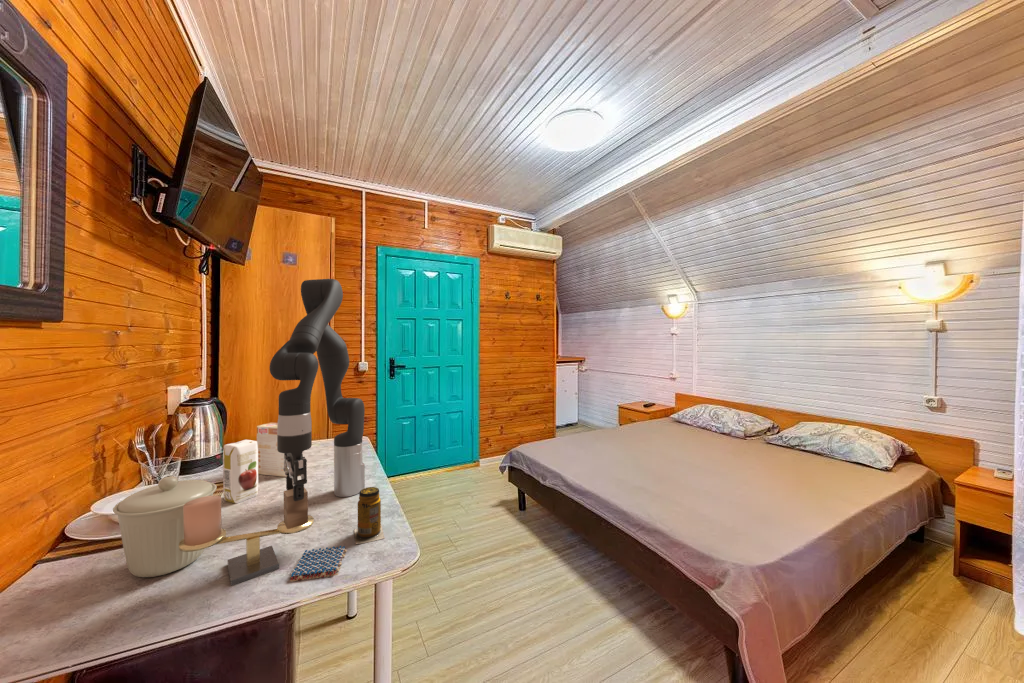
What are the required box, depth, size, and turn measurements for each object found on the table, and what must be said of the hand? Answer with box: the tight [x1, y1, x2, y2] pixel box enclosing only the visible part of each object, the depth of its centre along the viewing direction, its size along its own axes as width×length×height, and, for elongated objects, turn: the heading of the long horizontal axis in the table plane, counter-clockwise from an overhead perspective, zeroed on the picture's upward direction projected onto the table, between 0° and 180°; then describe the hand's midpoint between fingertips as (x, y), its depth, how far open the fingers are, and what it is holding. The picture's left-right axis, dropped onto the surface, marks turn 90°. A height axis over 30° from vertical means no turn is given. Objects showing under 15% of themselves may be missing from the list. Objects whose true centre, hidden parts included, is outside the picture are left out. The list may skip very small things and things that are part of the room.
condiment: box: [353, 486, 386, 545], centre depth 101 cm, size 7×8×12 cm
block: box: [283, 487, 309, 529], centre depth 93 cm, size 4×4×8 cm
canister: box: [112, 475, 217, 578], centre depth 88 cm, size 18×18×21 cm
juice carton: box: [222, 439, 259, 504], centre depth 124 cm, size 8×9×19 cm
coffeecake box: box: [256, 422, 286, 478], centre depth 147 cm, size 15×7×20 cm, turn 77°
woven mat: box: [289, 545, 348, 582], centre depth 87 cm, size 10×11×2 cm
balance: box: [179, 514, 315, 587], centre depth 87 cm, size 26×10×10 cm, turn 132°
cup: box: [183, 495, 223, 546], centre depth 81 cm, size 6×6×8 cm
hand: (294, 494), depth 93 cm, fingers open, 8 cm apart
